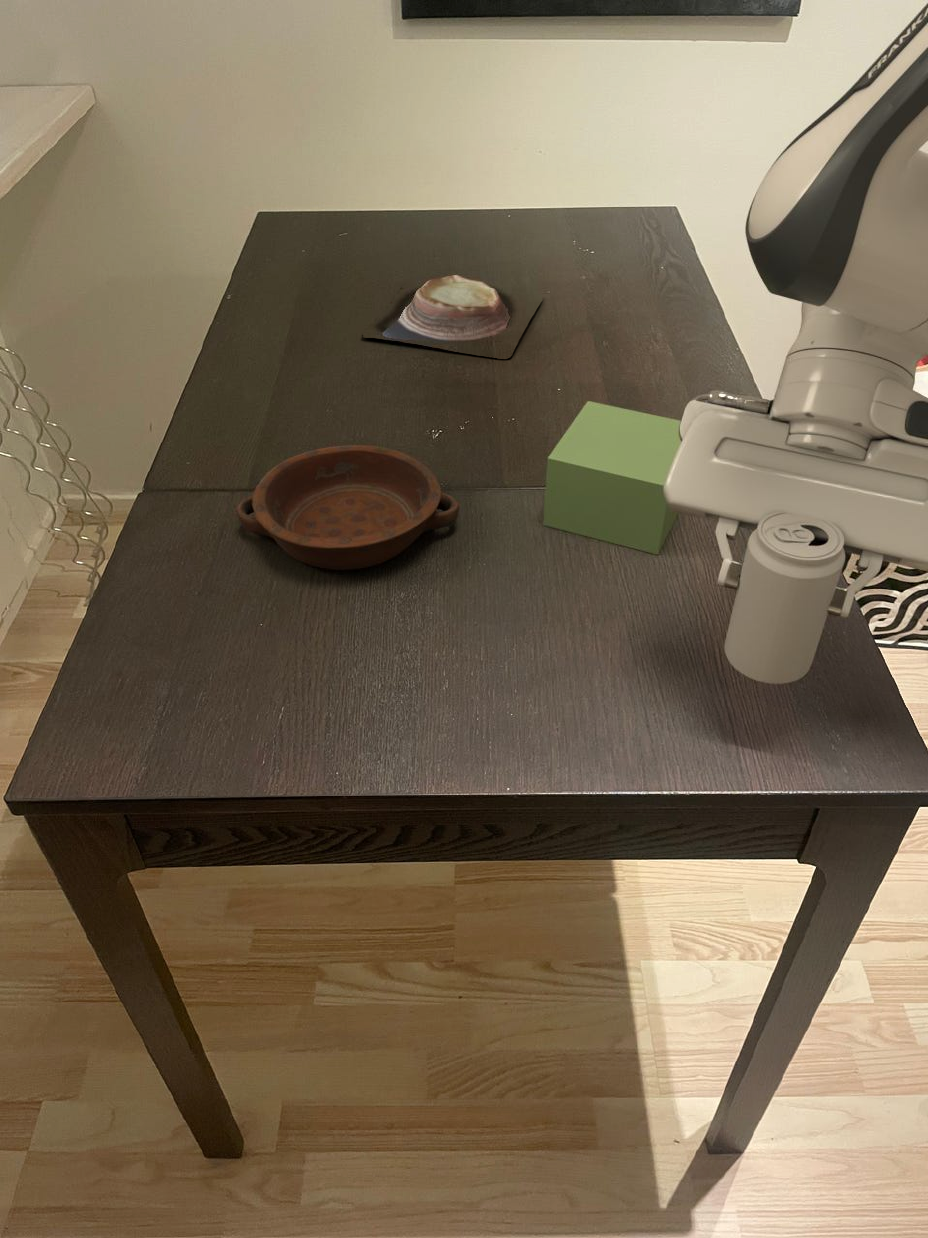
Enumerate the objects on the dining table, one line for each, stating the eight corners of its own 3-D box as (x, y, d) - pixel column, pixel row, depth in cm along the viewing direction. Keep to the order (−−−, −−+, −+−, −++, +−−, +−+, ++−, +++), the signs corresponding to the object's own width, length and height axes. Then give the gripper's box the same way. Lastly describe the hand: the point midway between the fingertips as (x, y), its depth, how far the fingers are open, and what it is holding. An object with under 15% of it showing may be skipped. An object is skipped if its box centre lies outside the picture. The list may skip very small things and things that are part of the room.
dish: (463, 583, 90) (463, 541, 86) (227, 591, 89) (218, 549, 86) (455, 479, 103) (455, 439, 99) (249, 485, 102) (242, 445, 99)
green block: (688, 491, 101) (701, 424, 96) (658, 555, 93) (670, 486, 88) (581, 465, 105) (587, 400, 99) (543, 525, 97) (547, 457, 91)
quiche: (358, 340, 127) (356, 311, 125) (408, 281, 142) (407, 254, 139) (510, 361, 123) (511, 332, 120) (545, 298, 137) (547, 271, 135)
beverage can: (819, 691, 69) (863, 562, 61) (730, 690, 70) (763, 561, 62) (798, 631, 74) (836, 505, 66) (715, 631, 74) (743, 504, 66)
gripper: (688, 370, 68) (633, 557, 67) (1001, 429, 61) (941, 636, 61) (694, 398, 74) (643, 570, 73) (980, 454, 67) (925, 643, 67)
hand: (781, 601), depth 67 cm, fingers closed on beverage can, 6 cm apart
